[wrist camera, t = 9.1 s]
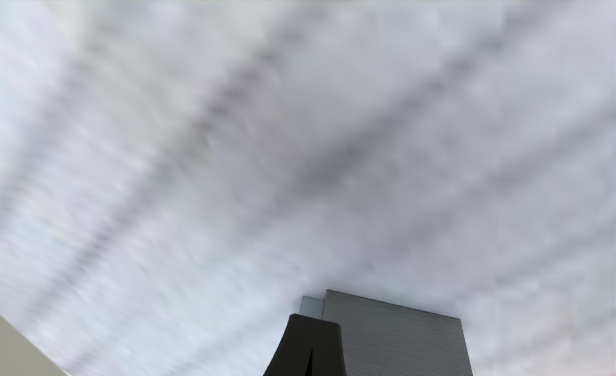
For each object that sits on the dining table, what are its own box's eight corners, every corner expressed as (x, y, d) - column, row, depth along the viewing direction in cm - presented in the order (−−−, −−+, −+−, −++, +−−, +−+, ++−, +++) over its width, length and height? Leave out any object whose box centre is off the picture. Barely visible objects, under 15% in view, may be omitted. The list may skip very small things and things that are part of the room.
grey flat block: (460, 319, 23) (489, 450, 17) (454, 330, 23) (480, 460, 18) (327, 289, 23) (310, 408, 17) (324, 300, 24) (307, 419, 18)
